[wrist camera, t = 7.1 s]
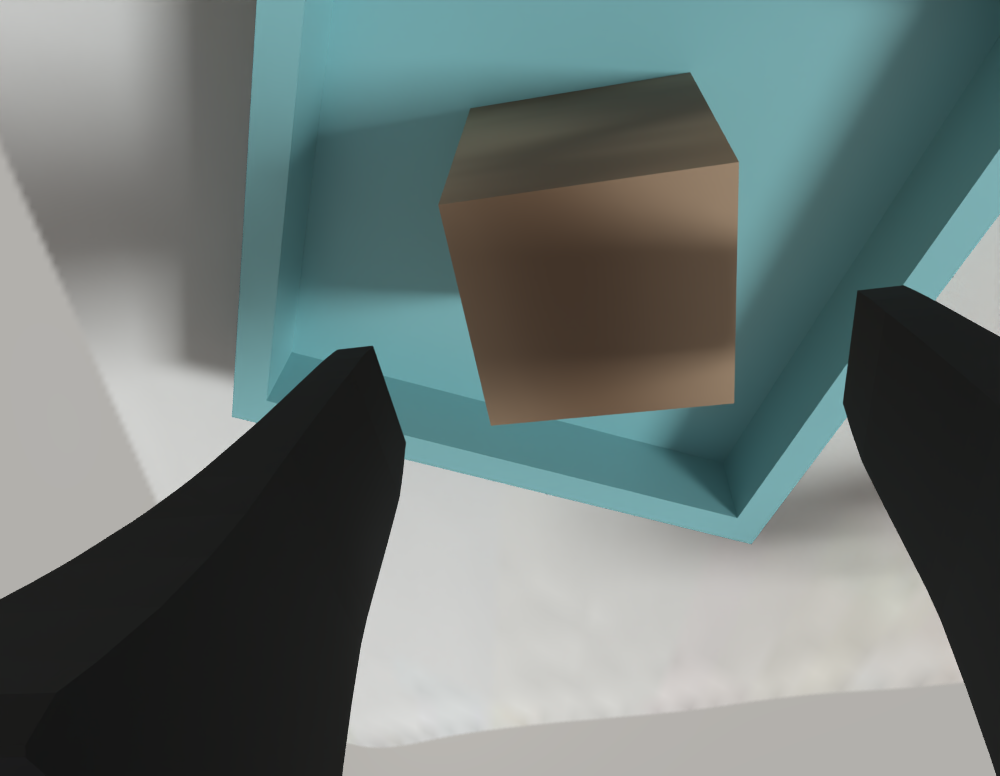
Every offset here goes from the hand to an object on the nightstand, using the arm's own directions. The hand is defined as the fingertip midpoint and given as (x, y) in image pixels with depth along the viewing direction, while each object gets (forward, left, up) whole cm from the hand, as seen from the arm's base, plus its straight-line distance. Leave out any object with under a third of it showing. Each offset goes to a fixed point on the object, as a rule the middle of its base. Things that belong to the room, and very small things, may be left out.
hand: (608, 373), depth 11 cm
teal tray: (0, 0, -7) cm, 7 cm away
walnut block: (0, 0, -6) cm, 6 cm away
